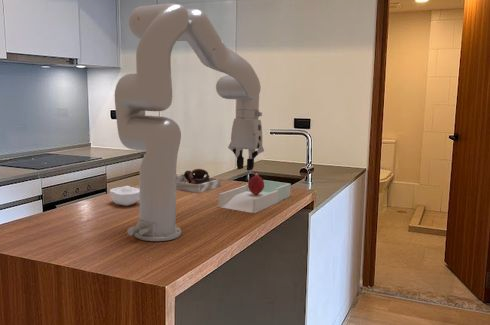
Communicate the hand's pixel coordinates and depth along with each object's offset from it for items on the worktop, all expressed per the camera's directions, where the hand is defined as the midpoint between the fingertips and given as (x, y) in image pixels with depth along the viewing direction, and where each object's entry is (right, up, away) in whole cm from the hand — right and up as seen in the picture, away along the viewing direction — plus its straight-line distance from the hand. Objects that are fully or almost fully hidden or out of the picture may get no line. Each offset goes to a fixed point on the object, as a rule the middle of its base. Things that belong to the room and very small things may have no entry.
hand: (245, 168), depth 156 cm
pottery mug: (-20, -8, +34) cm, 40 cm away
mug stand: (-22, -8, +33) cm, 40 cm away
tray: (+9, -11, +19) cm, 23 cm away
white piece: (+1, -14, +6) cm, 15 cm away
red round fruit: (+4, -10, +9) cm, 14 cm away
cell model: (-40, -12, -1) cm, 42 cm away
